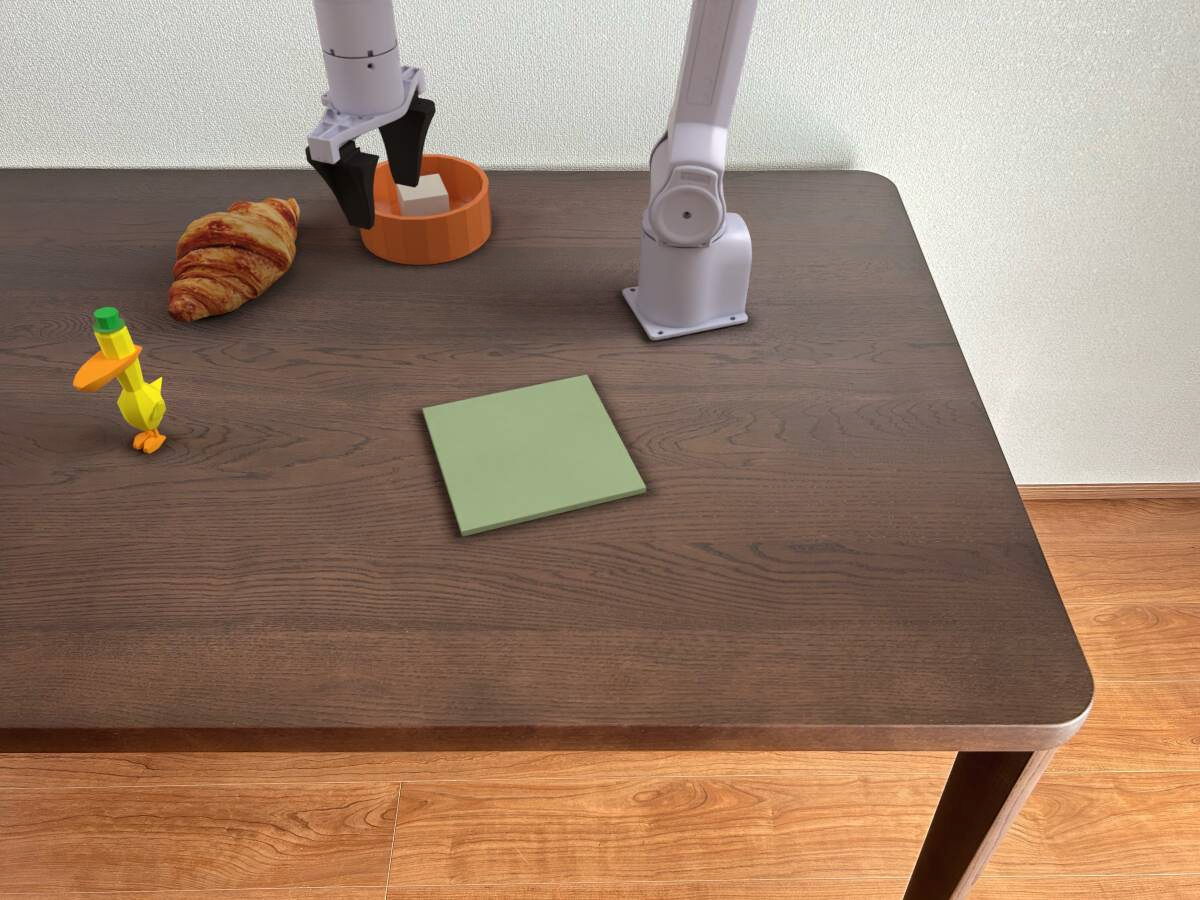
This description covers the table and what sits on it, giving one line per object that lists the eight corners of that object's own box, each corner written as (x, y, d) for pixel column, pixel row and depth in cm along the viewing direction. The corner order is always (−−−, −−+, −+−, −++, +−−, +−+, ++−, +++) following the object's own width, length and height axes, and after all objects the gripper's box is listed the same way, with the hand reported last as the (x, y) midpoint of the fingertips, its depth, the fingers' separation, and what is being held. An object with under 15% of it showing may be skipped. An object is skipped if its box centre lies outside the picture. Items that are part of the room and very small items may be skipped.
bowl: (474, 189, 105) (470, 146, 102) (505, 252, 96) (503, 206, 93) (352, 208, 102) (344, 164, 99) (372, 274, 93) (364, 228, 90)
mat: (586, 379, 82) (587, 374, 81) (646, 492, 72) (646, 487, 72) (423, 413, 78) (422, 407, 78) (462, 537, 69) (461, 531, 68)
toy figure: (135, 479, 73) (78, 352, 64) (98, 465, 74) (37, 338, 65) (195, 424, 77) (149, 298, 69) (160, 412, 78) (110, 287, 70)
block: (443, 212, 101) (438, 173, 98) (452, 233, 98) (448, 194, 95) (401, 218, 100) (395, 179, 97) (409, 240, 97) (403, 200, 94)
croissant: (278, 244, 103) (230, 178, 99) (348, 215, 98) (301, 145, 94) (166, 361, 88) (104, 289, 83) (244, 333, 83) (182, 255, 79)
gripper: (363, 5, 80) (386, 159, 89) (258, 71, 70) (296, 236, 79) (440, 18, 78) (455, 173, 88) (343, 87, 68) (372, 253, 78)
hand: (384, 204), depth 83 cm, fingers open, 7 cm apart
